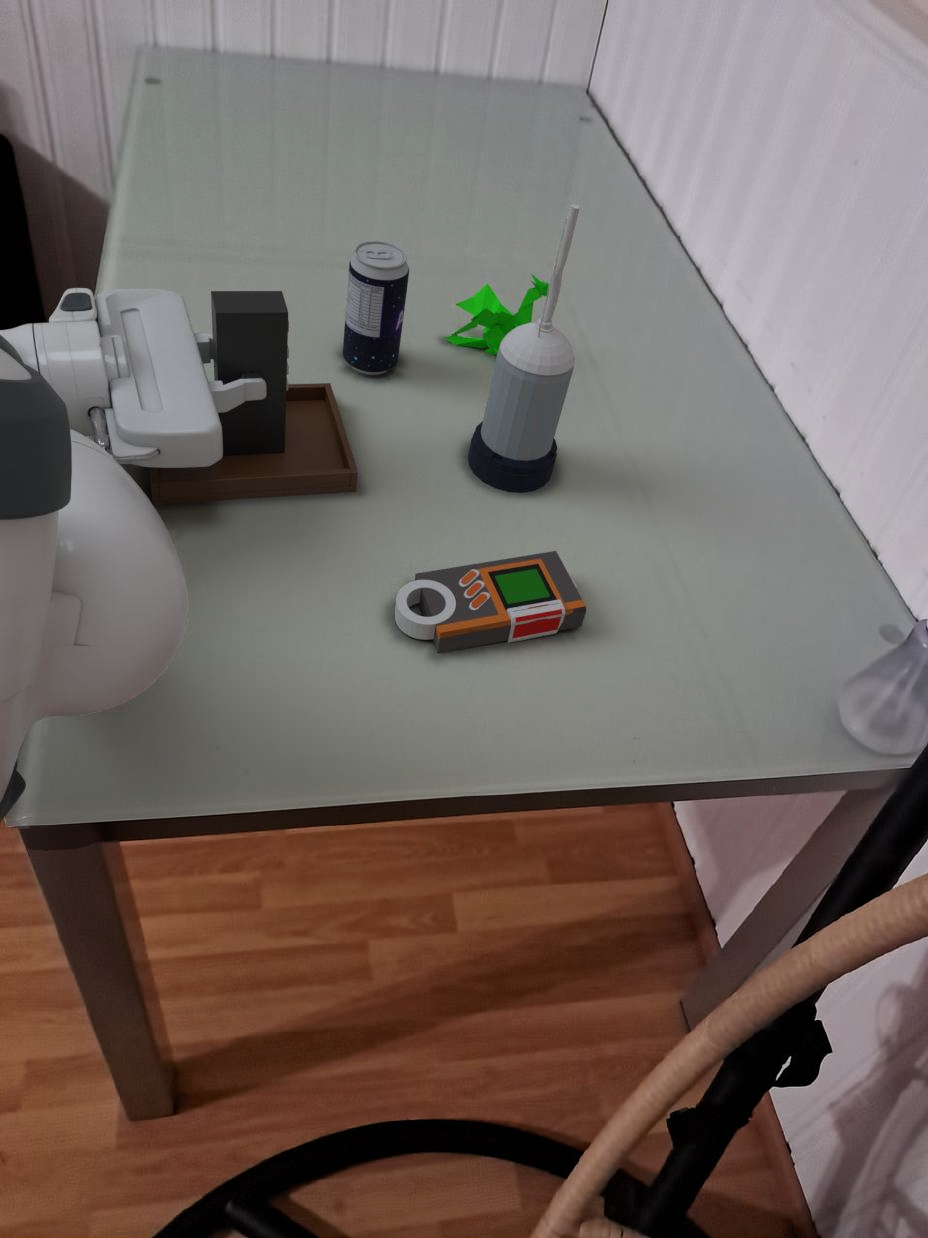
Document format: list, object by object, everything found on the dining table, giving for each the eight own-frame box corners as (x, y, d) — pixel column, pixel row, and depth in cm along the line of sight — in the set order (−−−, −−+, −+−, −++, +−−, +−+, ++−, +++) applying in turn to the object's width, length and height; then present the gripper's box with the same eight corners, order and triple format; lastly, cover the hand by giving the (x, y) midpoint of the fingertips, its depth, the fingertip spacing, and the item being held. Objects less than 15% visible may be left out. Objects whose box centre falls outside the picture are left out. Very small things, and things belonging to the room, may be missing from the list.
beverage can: (399, 381, 97) (413, 271, 88) (343, 378, 96) (352, 266, 87) (394, 349, 100) (407, 241, 92) (340, 346, 99) (348, 236, 90)
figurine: (554, 372, 101) (558, 291, 95) (442, 370, 102) (438, 290, 95) (554, 340, 105) (558, 261, 99) (446, 339, 106) (443, 260, 99)
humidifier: (562, 456, 93) (637, 204, 74) (536, 504, 87) (609, 244, 69) (485, 427, 94) (540, 172, 75) (454, 473, 88) (505, 209, 70)
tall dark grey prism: (216, 433, 85) (210, 290, 75) (281, 430, 87) (285, 290, 77) (220, 456, 83) (215, 312, 73) (287, 452, 85) (291, 311, 75)
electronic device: (386, 575, 75) (560, 546, 79) (384, 600, 77) (554, 571, 81) (410, 639, 71) (593, 606, 75) (408, 664, 73) (585, 630, 77)
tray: (152, 504, 79) (150, 483, 78) (143, 408, 87) (140, 387, 86) (356, 492, 84) (358, 472, 83) (329, 402, 92) (330, 382, 91)
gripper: (91, 428, 67) (287, 412, 71) (66, 276, 79) (235, 271, 84) (102, 496, 71) (285, 477, 76) (77, 343, 84) (236, 334, 88)
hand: (258, 368), depth 80 cm, fingers closed on tall dark grey prism, 3 cm apart
